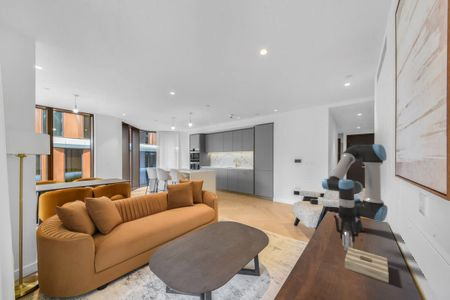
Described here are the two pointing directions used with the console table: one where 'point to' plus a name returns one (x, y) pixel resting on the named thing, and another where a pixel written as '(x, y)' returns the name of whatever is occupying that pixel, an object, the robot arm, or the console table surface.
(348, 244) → the pin
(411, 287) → the console table surface
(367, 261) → the bore block
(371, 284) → the console table surface
